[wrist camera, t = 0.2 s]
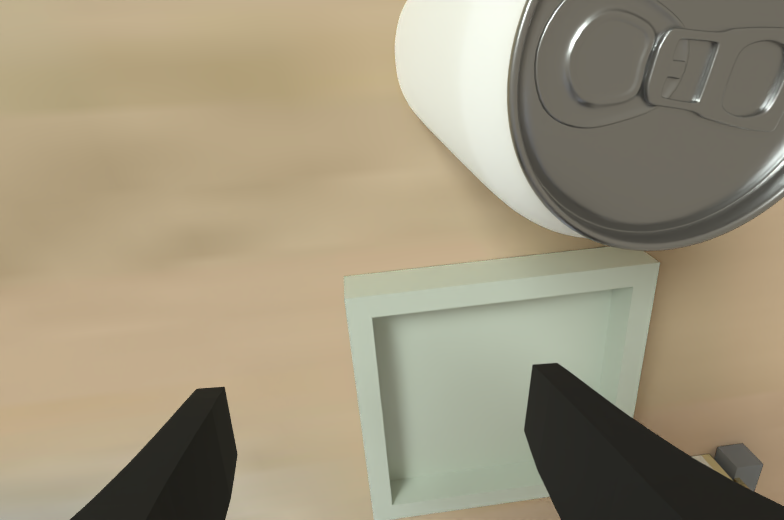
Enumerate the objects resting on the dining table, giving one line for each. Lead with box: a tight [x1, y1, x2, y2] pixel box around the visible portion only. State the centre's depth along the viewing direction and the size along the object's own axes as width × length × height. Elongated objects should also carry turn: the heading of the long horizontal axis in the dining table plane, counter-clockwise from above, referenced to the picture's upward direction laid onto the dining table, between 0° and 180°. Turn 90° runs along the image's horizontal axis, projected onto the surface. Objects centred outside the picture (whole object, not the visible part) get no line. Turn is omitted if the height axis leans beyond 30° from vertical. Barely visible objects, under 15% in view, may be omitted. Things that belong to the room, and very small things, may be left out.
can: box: [395, 0, 784, 251], centre depth 12 cm, size 6×6×12 cm
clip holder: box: [714, 443, 763, 491], centre depth 27 cm, size 4×9×2 cm, turn 94°
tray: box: [344, 246, 660, 520], centre depth 23 cm, size 13×13×2 cm
